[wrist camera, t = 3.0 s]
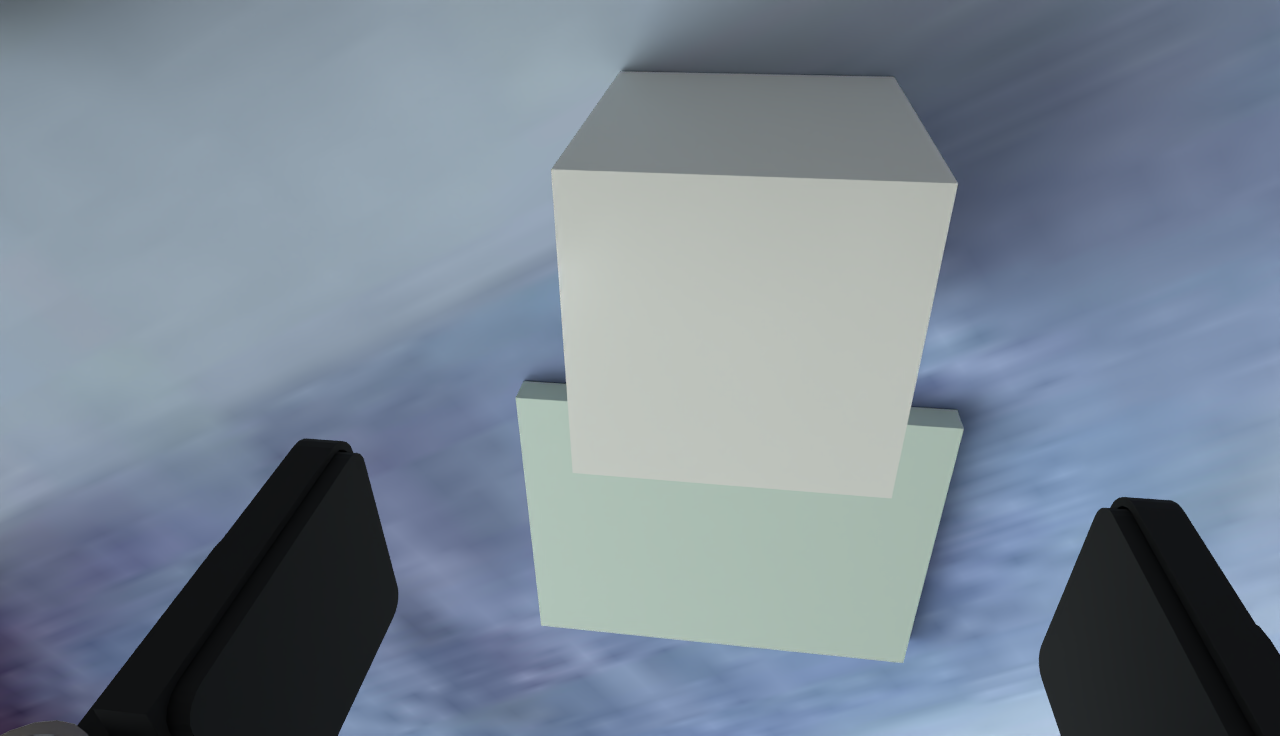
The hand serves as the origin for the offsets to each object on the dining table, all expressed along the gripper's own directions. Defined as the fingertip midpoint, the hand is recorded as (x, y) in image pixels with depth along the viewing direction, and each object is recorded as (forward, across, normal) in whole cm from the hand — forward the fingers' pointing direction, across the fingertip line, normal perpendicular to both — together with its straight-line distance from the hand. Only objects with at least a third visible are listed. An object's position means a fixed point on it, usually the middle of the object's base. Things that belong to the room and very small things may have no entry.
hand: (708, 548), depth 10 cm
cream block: (+14, 0, +1) cm, 14 cm away
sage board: (+14, 0, +13) cm, 19 cm away
